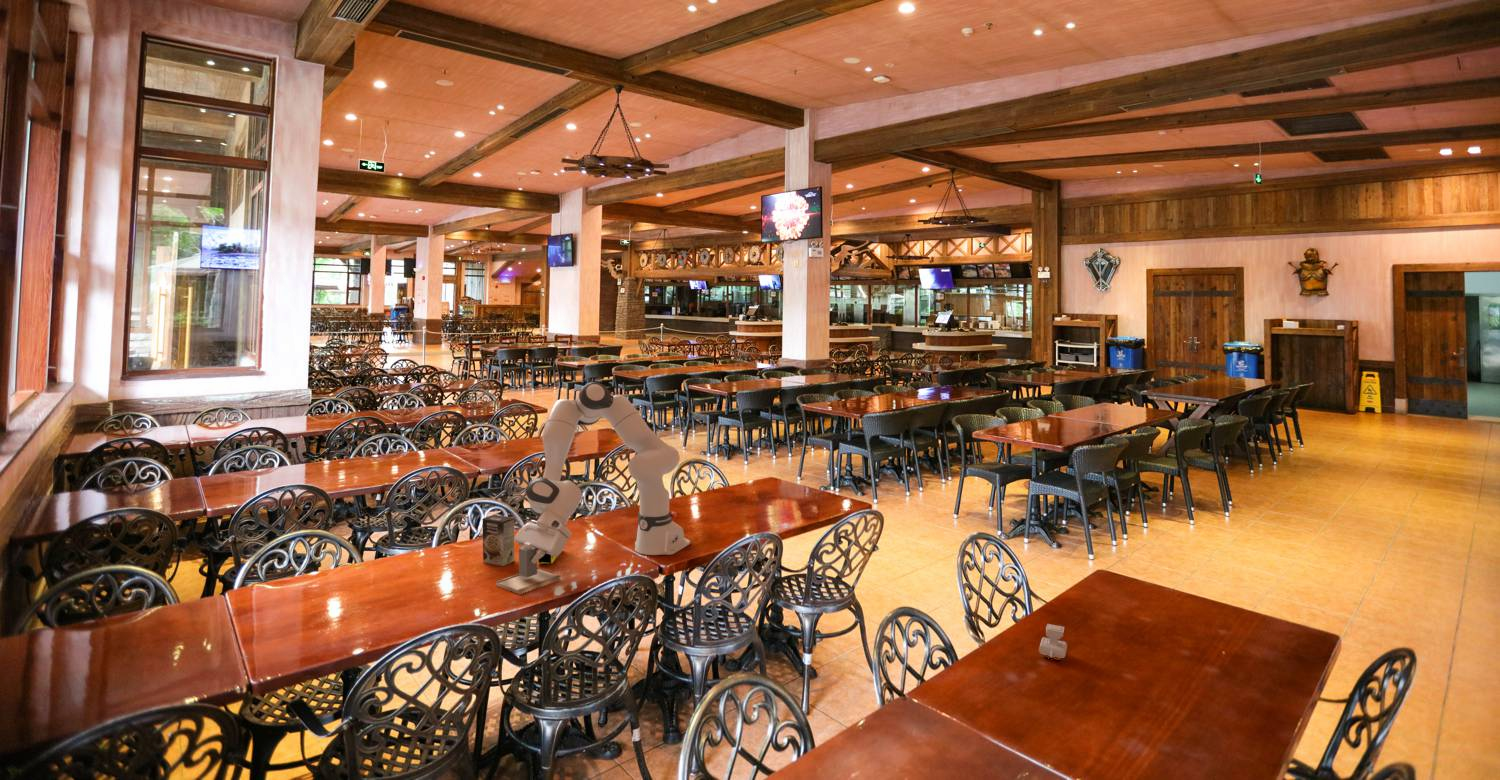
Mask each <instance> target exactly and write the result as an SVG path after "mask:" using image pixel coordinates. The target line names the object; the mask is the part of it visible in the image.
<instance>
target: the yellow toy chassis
mask: <svg viewBox="0 0 1500 780" xmlns="http://www.w3.org/2000/svg"><path fill="white" fill-rule="evenodd" d="M560 555H561V553H560V554H559V555H558V556H553V555H550V554H547V553H545V554H544V556H543V557H541V558H540V559H539V560H537V564H542V565H549V564H551V565H552V564H553V563H554V561H556V559H557V558H559V556H560Z"/></svg>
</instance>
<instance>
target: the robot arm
mask: <svg viewBox="0 0 1500 780" xmlns="http://www.w3.org/2000/svg"><path fill="white" fill-rule="evenodd" d="M552 405H553V406H552V407H551V409H550V411H549V412H548V416H547V417H546V420H545V423H544V427H543V432H542V446H543V451H544V456H545V467H544V470H543V471H544V472H543V476H542V477H537V478H533V479H532V480H530V481H529V482H528V484H527V486H526V488H525V495H526V498H527V501H528V503H529V507H530V510H531V513H532V514H533V515H534V516H536V517H537V518H538V519H537V520H535V519H531V520H529V521H527V523H526V522H525V524H524V525H522V527H521V528H520V529H519V531H518V532H516V534H515V535H514V542H516V543H517V544H518V545H520V546H521V548H522V547H523V543H526V542H529V543H532V546H533V547H536V548H537V554H536V555H535V556H532V557H531V559H530V562H531V563H534V564H535V563H536V562H537V563H538V560H539V559H540V558H541V557H543V556H544V554H545V553H547V554H550V555H553V556H558V557H559V556H560V555H561V553H562V552H563V550H564V549H565V547H566V545H567V543H568V540H569V539H570V538H572V536H573V533H572V532H571V531H570V529H569V528H568V527H567V526H566V525H567V524H568V521H569V518H570V517H571V516H572V515H573V514H574V513H575V512H576V510H577V508H578V506H579V504H580V502H581V501H582V498H583V492H582V490H581V487H580V486H579V485H578V484H576V483H575V482H574V481H573V480H569V479H565V480H562V479H561V478H562V475H563V471H564V467H565V463H566V460H567V457H568V455H569V451H570V449H571V446H572V443H573V440H574V437H575V434H576V430H577V427H578V425H582V426H592V425H594V424H596V423H598V421H599V420H600V419H601V417H602V418H604V419H606V420H607V421H608V423H610V425H611V427H612V428H613V430H614V431H615V433H616V434H617V436H618V437H619V438H620V440H621V442H622V444H624V446H626V447H627V448H629V449H631V450H633V451H635V452H636V453H637V454H635V455H633V457H631V458H630V459H629V461H628V465H627V467H628V468H627V469H628V472H629V475H630V476H631V477H632V479H634V480H635V483H636V485H637V489H638V495H639V512H638V515H637V516H638V517H637V521H638V522H637V523H638V526H637V531H636V540H635V541H634V550H635V551H636V552H637V553H638V554H641V555H647V556H660V555H666V556H667V555H668V556H669V555H675V554H676V553H678V552H679V551H680V550H682V549H684V548H685V547H688V546H689V545H690V544H691V540H689V539H688V538H686V537H685V533H684V532H685V531H684V529H683V528H682V526H680V525H679V524H678V523H676V522H675V521H673V518H677V512H676V511H670V493H669V490H668V489H667V488H665V484H664V481H663V477H664V475H666V474H670V473H671V472H673V471H674V470H675V469H676V468H677V467H678V466H679V463H680V453H679V451H678V450H677V449H676V448H675V447H674V446H672V445H669V444H668V443H666V442H665V441H664V440H662V438H660V437H659V436H658V435H657V434H656V433H655V432H654V431H653V430H652V429H651V428H650V427H649V425H648V423H646V421H645V420H644V419H643V417H642V415H641V414H640V412H639V411H638V410H637V409H636V408H635V406H634V405H633V404H632V402H630V400H629V399H628V398H627V397H626V396H624V395H623V394H614V395H613V392H612V391H611V390H610V389H608V388H607V387H606V386H605V385H603V384H602V383H600V382H597V381H590V382H587V383H585V385H583V386H581V388H580V390H579V393H578V394H577V397H576V399H572V400H571V399H568V398H561V399H558V400H556V401H555V402H554V403H553V404H552ZM672 517H673V518H672ZM559 554H560V555H559Z"/></svg>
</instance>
